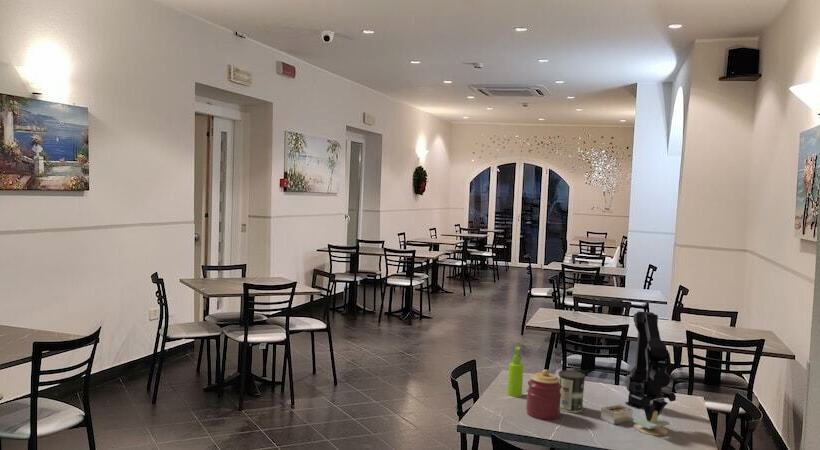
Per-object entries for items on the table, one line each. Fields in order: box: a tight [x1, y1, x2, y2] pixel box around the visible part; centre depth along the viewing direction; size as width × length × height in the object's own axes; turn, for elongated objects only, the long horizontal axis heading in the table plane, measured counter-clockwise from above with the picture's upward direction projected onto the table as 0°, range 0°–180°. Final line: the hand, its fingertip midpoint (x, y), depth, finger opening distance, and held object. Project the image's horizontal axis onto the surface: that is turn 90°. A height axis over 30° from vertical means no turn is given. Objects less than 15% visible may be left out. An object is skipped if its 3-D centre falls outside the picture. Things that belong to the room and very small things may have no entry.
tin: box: [600, 404, 634, 426], centre depth 246 cm, size 10×6×4 cm, turn 120°
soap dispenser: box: [507, 346, 525, 398], centre depth 270 cm, size 6×7×20 cm
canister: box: [525, 369, 562, 420], centre depth 247 cm, size 13×13×18 cm
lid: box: [632, 410, 670, 429], centre depth 238 cm, size 11×8×6 cm
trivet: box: [633, 422, 669, 437], centre depth 238 cm, size 12×12×1 cm
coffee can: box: [558, 369, 586, 414], centre depth 256 cm, size 10×10×14 cm
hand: (651, 420), depth 238 cm, fingers closed on lid, 3 cm apart
